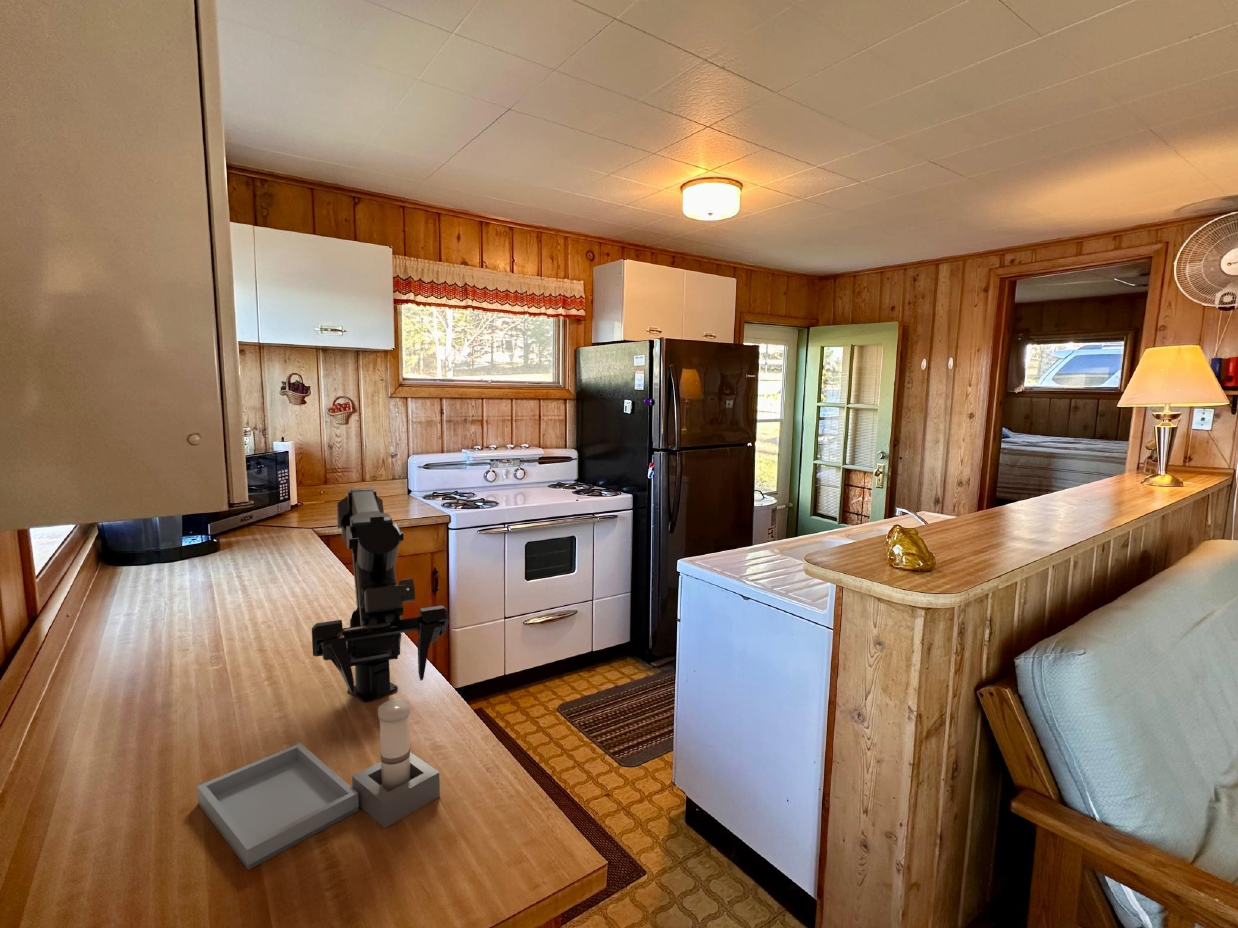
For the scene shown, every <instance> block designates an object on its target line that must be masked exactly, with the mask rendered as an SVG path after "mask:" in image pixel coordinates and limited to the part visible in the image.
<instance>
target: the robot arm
mask: <svg viewBox="0 0 1238 928" xmlns="http://www.w3.org/2000/svg"><path fill="white" fill-rule="evenodd" d="M346 495H347V496H345V497H344V498H343V499H341V500H340V501H338V502H337V505H336V521H337V523H336V524H337V529H341V537H342V538H341V539H342V540H343V542H345V544H346V547H347V549H348V550H351V554H352V566H353V568H352V569H353V577H354V579H353V580H354V590H355V601H356V602H355V603H356V609H355V610H354V611H352V614H351V617H350V620H349V627H344V628H343V619H337V620H332V621H323V622H322V621H321V622H316V623H314V625H313V626H312V628H311V643H312V656H313V657H321V656H322V659H323V661H331V662H332V664H333V665H334V666H335V667H336V668H337V670H338V671H339V673H340V675H341V677H342V679H343V681H344V682H345V685H346V686H347V692H348V694H349V693H350V694H351V695H352V696H354V697H355V698H357V699H358V700H360V701H361V702H363V703H368V702H371V701H374V700H375V699H376V700H377V699H378V698H381V697H383V696H385V695H389V694H390V693H394V692H395V691H398V689H399V686H397V685H396V684H394V683H392V682H391V671H390V670H391V669H390V661H391V660H398V659H399V656H400V655H401V643H402V642H401V640H402V634H405V633H409V632H415V631H417V633H418V638H417V668H418V671H417V672H418V676H419V681H424V678H425V673H426V672H425V671H426V666H427V660H428V654H429V650H430V646H431V644H432V643H436V642H438V641H439V637H442V636H444V635H446V632H447V629H448V626H449V623H450V616H449V615H450V614H449V610H448V609H447V608H446V607H445V606H444V605H437V606H430V607H429V606H428V607H421V608H420V609H419V613H418V616H417V617H411V618H405V619H404V618H403V619H402V616H403V615H404V613H405V612H404V605H403V604H404V603H408V602H413V601H414V600H416V591H415V590H416V589H415V588H416V587H415V584H414V583H415V582H414V578H406V579H400V581H399V582H398V581H397V574H396V565H397V564H396V563H397V561H398V555H399V549H400V545H401V542H402V541H404V538H405V537H404V532H403V530H401V528H399V527H398V523H396V522H393V518H392V517H391V515H390V514H389V513H385V512H384V502H383V499H381V498H380V497H379V496H377V489H376V488H375V489H374V488H371V487H370V488H368V487H367V488H351V489H350V490H347V494H346ZM397 582H398V583H397ZM352 667H354V674H355V675H353V671H352V670H353V669H352ZM354 677H355V678H354ZM354 679H355V680H354Z"/></svg>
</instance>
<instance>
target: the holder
mask: <svg viewBox="0 0 1238 928" xmlns="http://www.w3.org/2000/svg"><path fill="white" fill-rule="evenodd" d="M410 778H411V780H410V781H408V782H406V783H405V784H403V785H401V786H399V787H397V788H395V789H393V790H391V791H390V792H387V791H386V790H385V789H384V788H383V787H381V784H382V776H381V761H380V762H378V763H376V764H374V765H371V766H369V767H368V768H366V769H364V770H361V771H359V772H357V773H355V774H353V775H351V785H352V786H351V787H352V788H353V789H354V790H355V791H356V792H358V805H359V808H361V809H362V810H363V811H364V812H366V814H368V815H369V816H370V817H371V818H372V819H373V820H374V821H375V822H377V823H378V824H379V825H380V826H381V827H382V828H383V829H386V828H388V827H390V826H392V825H393V824H395V823H397V822H399V821H401V820H402V819H404V818H406V817H407V816H408V815H411V814H413V813H414V812H415V811H417V810H419V809H421V808H423V807H424V806H426V805H427V804H429V803H431V802H432V801H434V800H436V799H437V798H439V797H441V793H440V791H441V788H440V786H441V785H440V781H441V780H440V779H441V778H440V771H438V770H437V769H436V768H434V767H433V766H431V765H430V764H428V763H427V762H425V761H424V760H423V759H421V758H420V757H419V756H417V755H415V754H414V753H412V752H411V751H410Z"/></svg>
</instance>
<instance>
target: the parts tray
mask: <svg viewBox="0 0 1238 928" xmlns="http://www.w3.org/2000/svg"><path fill="white" fill-rule="evenodd" d="M196 789H197V790H196V792H197V804H198V806H199V807H200V808H201V810H202V811H203V812H204V813H205V815H206V816H207V818H208V819H209V820H210V822H211V823H212V824H213V826H214V827H215V828H216V829H217V831H218V832H219V834H220V835H221V836H222V838H224V840H225V841H226V843H227V844H228V845H229V847H230V848H231V849H232V851H234V853H235V855H236V856H237V857H238V858H239V860H240V861H241V862H242V864H243V865H244V866H245V868H246V869H247V870H248V871H250V870H252V869H253V868H255V867H257V866H259V865H260V864H263V863H264V862H266V861H269V860H270V859H271V858H273V857H275V856H278V855H279V854H282V853H283V852H285V851H287V850H289V849H291V848H292V847H294V846H296V845H298V844H299V843H302V842H304V841H305V840H307V839H309V838H311V837H313V836H315V835H316V834H318V833H320V832H322V831H324V830H326V829H327V828H330V827H332V826H333V825H335V824H337V823H339V822H341V821H342V820H345V819H346V818H348V817H350V816H352V815H354V814H355V813H358V812H359V810H360V809H359V808H360V806H359V805H358V792H356V791H355V790H354V789H353V788H352V786H351V785H349V784H348V783H347V782H346V781H345V780H344V779H343V778H342V777H341V776H339V775H338V774H337V773H336V772H335V771H333V770H332V768H330V767H329V766H328V765H326V764H325V763H324V762H323V761H322V760H321V759H319V758H318V757H317V756H316V755H315V754H314V753H313V752H311V751H310V750H309V749H308V748H307V747H305V745H303V744H302V743H301V742H298V743H297V744H294V745H292V746H289V747H287V748H285V749H283V750H279V751H278V752H276V753H273V754H271V755H269V756H266V757H263V758H261V759H259V760H256V761H254V762H252V763H249V764H247V765H244V766H242V767H240V768H237V769H235V770H232V771H230V772H228V773H226V774H222V775H221V776H218V777H216V778H212V779H211V780H209V781H206V782H204V783H202V784H201V783H200V784H199V785H197V786H196Z"/></svg>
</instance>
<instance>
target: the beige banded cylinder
mask: <svg viewBox="0 0 1238 928" xmlns="http://www.w3.org/2000/svg"><path fill="white" fill-rule="evenodd" d="M410 714H411V703H410V702H409V701H408V700H406V699H397V698H396V699H391V700H387V701H385V702H384V703H382V704H380V705H378V708H377V719H378V720H379V736H380V737H379V738H380V740H379V741H380V742H379V743H380V762H381V776H382V784H381V787H383V788H384V789H385V790H386V791H387V792H390V791H391V790H393V789H395V788H397V787H399V786H401V785H403V784H405V783H406V782H408V781H410V780H411V778H410V752H411V746H410V745H411V744H410V740H411V739H410Z"/></svg>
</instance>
